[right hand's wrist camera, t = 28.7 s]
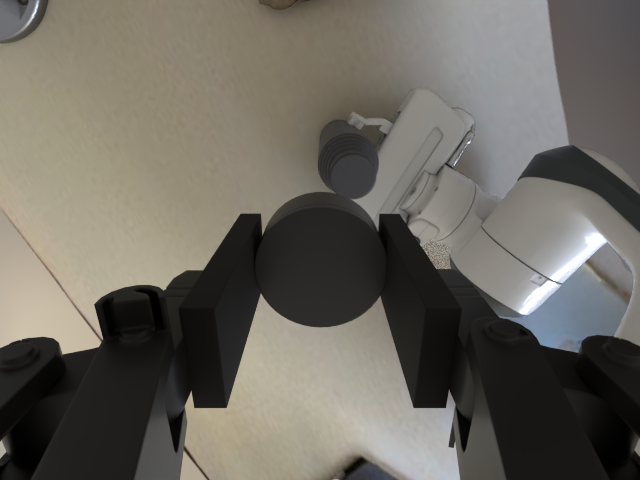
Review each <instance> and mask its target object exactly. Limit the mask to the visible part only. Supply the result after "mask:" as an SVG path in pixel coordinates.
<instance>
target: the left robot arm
mask: <svg viewBox="0 0 640 480" xmlns="http://www.w3.org/2000/svg"><path fill="white" fill-rule="evenodd" d="M346 123H348V124H349V125H351V126H354V127H355V128H356V129H357V130H359V131H360V130H361V129H362V127H363V125H378V126H377V129H378V130H380V131H381V132H383V133H384V134H383V135H382V137H381V138H380V140H379V142H378V143H377V145H376V147H375V149H376V151H377V154H378V158H379V168H378V173H377V176H376V182H375V185H374V187H373V189H372V190H371V191H370V192H369V193H368V194H367V195H366V196H364V197H362V198H359V199H351V200H353V201H354V202H356V203H357V204H359V205H360V206H361V207H362V208H363V209H364V210H365V211H366V212H367V213H368V214H369V215H370V217H371V218H372V220H373V222H374V224H375V226H376V228H377V230H378V226H379V214H400V215H401V217H402V218H403V220H404V221H405V223H406V224H407V226H408V227H409V229H410V230H411V232H412V233H413V235H414V236H415V238H416V239H417V241H418V242H419V244H420V246H422V245H424V244H425V243H427V242H428V241H430V240H431V241H433V242H437V243H441V244H443V245H445V246H447V247H448V248H449V249H450V250H451V254H450V255H449V259H450V266H451V269H454V270H456V271H457V272H459V273H461V274H462V275H464V276H466V277H467V278H468V279H469V281H470V282H471V283H472V284H473V286H474V288H476V289H477V291H478V292H479V293H480V296H482V297H483V298H484V299H485V301H486V302H487V303H488V304H489V306H490V307H491V308H492V309H493V311H494V312H495V313H496V314H497V315H499V316H505V317H525V316H528V315H529V314H530V313H532V312H533V311H534V310H536V309H537V308H538V307H539V306H540V305H541V304H542V303H543V302H544V301H545V300H547V299H548V298H549V297H550V296H551V295H552V294H553V293H554V292H555V291H556V290H557V289H558V288H559V287H560V286H561V285H562V284H563V282H564V281H565V280H566V279H568V278H569V277H570V276H571V275H572V274H573V273H574V272H575V271H576V270H577V269H578V268H579V267H580V266H581V265H582V264H583V263H584V262H585V261H586V260H587V259H588V258H589V257H590V256H591V255H592V254H593V253H595V252H596V251H597V250H598V249H599V248H600V247H601V246H602V245H604V244H605V243H607V242H608V243H609V244H610V245H611V246H612V247H613V248H614V250H615V251H616V252H617V253H618V254H619V255H620V256H621V257H622V259H623V260H624V261H625V262H626V263H627V264H628V266H629V267H630V268H631V270H632V273H633V291H632V296H631V299H630V302H629V305H628V307H627V310H626V312H625V314H624V317H623V319H622V321H621V323H620V325H619V327H618V329H617V331H616V332H615V334H614V336H613V337H618V338H619V339H621V338H622V339H625V340H628V341H631V342H632V343H634V344H636V345H639V346H640V189H639V188H638V187H637V185H636V184H635V182H634V181H633V180H632V178H631V177H630V176H629V175H628V174H627V173H626V172H625V171H624V170H623V169H622V168H621V167H620V166H619V165H618V164H616V163H615V162H614V161H612V160H610V159H609V158H607V157H606V156H604V155H602V154H600V153H598V152H595V151H593V150H590V149H587V148H582V147H575V146H574V145H570V146H564V147H559V148H555V149H552V150H548V151H545V152H542V153H539V154H536V155H535V156H534V158H533V159H532V160H531V162H530V163H529V165H528V166H527V167H526V169H525V170H524V172H523V173H522V174H521V176H520V177H519V178H518V182H517V183H516V184H515V185H514V187H513V188H512V189H511V190H510V191H509V193H508V194H507V195H506V196H505V197H504V199H501V198H499V197H497V196H493V195H489V194H487V193H485V192H483V191H482V190H481V189H480V188H479V186H478V185H477V184H476V183H475V182H473V181H472V180H470V179H469V178H467V177H465V176H464V175H462V174H460V173H459V172H457V171H455V170H454V169H453V167H454V166H455V164H456V163H457V161H458V160H459V159H460V157H461V155H462V154H463V152H464V150H465V148H466V147H467V146H468V145H469V144H470V143H471V141H472V140H473V138H474V136H475V134H474V133H473V132H474V130H475V120H474V118H473V117H472V116H471V115H470V114H469V113H467V112H466V111H464V110H463V109H461V108H458V107H452V108H451V107H450V106H449V105H448V104H447V103H446V102H445V101H443V100H442V99H441V98H440V97H439V96H437V95H436V94H435V93H433V92H432V91H431V90H429V89H427V88H425V87H419V88H415V89H412V90H410V91H409V92H408V94H407V96H406V97H405V99H404V101H403V102H402V104H401V106H400V107H399V109H398V111H397V112H396V114H395V115H394V117H393V119H392V120H391V122H390V121H388V120H386V119H384V118H366V119H365V118H363V117H362V116H360V115H359V114H357V113H355V112H353V111H352V113H351V115H350V117H349V118H348V120H347V122H346ZM470 128H471V130H470V131H468V130H469V129H470ZM444 163H446V164H444ZM318 173H319V171H318ZM635 452H636V453H637V454H638V455H639V456H640V438H639V441H638V443H637V445H636V448H635Z"/></svg>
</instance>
